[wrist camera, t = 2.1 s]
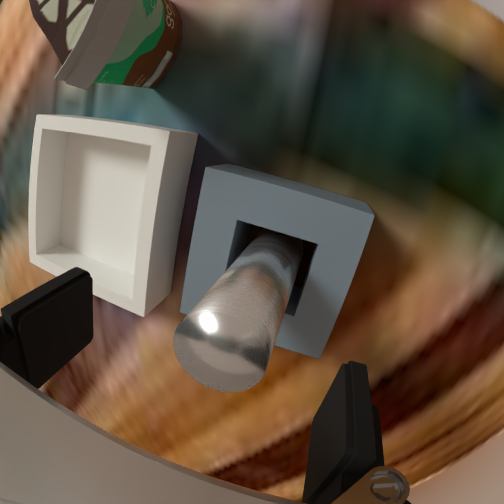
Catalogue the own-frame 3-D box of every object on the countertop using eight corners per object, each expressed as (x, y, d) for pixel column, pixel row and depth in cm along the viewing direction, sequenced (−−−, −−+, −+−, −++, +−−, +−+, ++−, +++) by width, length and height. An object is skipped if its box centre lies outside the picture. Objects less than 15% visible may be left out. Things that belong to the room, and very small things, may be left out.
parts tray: (198, 133, 20) (169, 131, 16) (170, 293, 24) (143, 317, 21) (71, 115, 22) (36, 114, 18) (60, 248, 26) (29, 261, 22)
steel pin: (309, 232, 20) (279, 332, 9) (295, 277, 22) (253, 403, 10) (261, 218, 21) (179, 297, 10) (250, 263, 22) (169, 371, 11)
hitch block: (366, 202, 19) (374, 215, 15) (322, 326, 22) (319, 358, 18) (228, 163, 20) (205, 166, 17) (203, 287, 23) (179, 311, 20)
